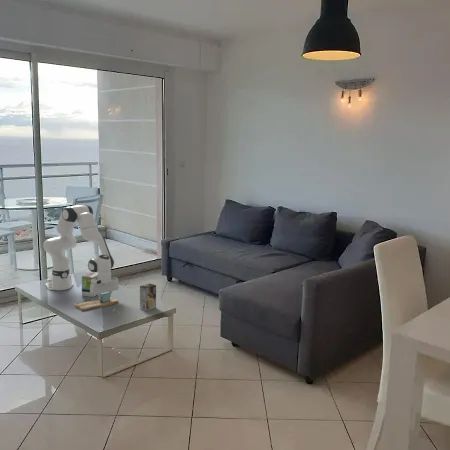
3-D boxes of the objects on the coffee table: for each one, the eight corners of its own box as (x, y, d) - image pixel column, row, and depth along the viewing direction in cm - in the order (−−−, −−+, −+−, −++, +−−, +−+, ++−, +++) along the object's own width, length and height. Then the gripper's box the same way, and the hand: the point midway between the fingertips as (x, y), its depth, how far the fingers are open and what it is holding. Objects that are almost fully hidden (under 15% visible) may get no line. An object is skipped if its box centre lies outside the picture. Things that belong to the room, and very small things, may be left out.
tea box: (94, 297, 323) (94, 277, 320) (81, 296, 324) (80, 276, 322) (104, 291, 337) (103, 271, 335) (91, 289, 339) (91, 270, 336)
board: (74, 306, 304) (74, 304, 303) (109, 298, 321) (109, 296, 321) (83, 311, 295) (83, 309, 295) (118, 303, 313) (118, 300, 313)
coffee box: (149, 305, 310) (149, 283, 308) (156, 307, 307) (156, 284, 304) (139, 309, 303) (139, 286, 300) (146, 311, 299) (146, 288, 297)
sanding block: (99, 300, 312) (99, 293, 312) (105, 298, 316) (105, 291, 315) (103, 302, 308) (103, 295, 307) (110, 301, 311) (110, 294, 311)
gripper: (115, 275, 319) (115, 294, 321) (88, 280, 305) (88, 300, 307) (120, 277, 314) (120, 296, 316) (93, 282, 300) (93, 302, 303)
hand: (104, 298), depth 312 cm, fingers closed on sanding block, 5 cm apart
